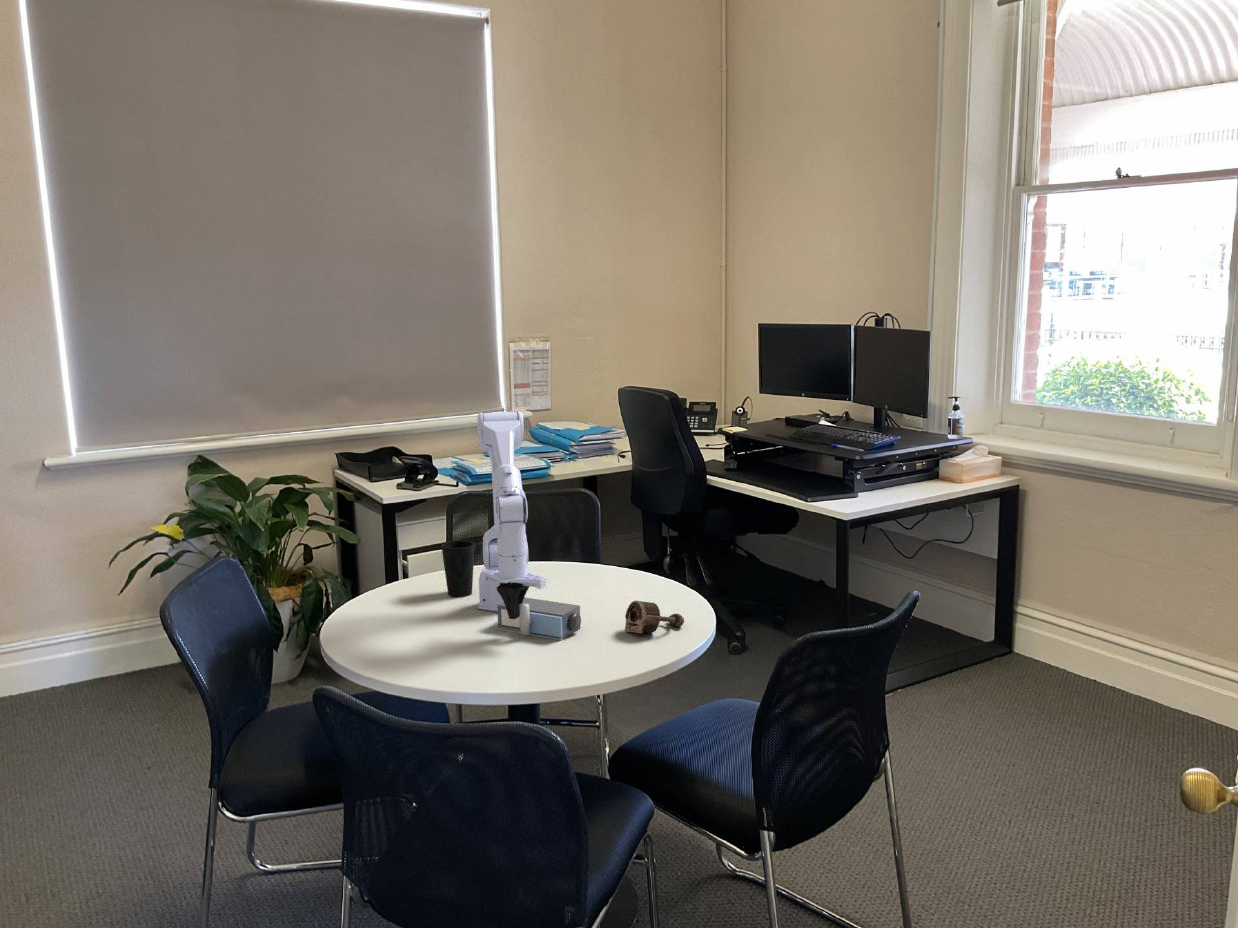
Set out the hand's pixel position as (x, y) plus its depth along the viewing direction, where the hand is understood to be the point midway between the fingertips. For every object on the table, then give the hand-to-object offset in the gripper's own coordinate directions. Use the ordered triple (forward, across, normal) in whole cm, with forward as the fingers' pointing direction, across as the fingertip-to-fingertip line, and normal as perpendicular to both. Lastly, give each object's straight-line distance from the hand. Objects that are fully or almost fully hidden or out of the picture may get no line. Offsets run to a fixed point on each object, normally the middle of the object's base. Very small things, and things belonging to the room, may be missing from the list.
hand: (514, 617), depth 203 cm
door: (+3, +6, +1) cm, 7 cm away
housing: (+4, +2, +6) cm, 8 cm away
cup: (+4, -28, +19) cm, 34 cm away
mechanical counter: (+4, +25, +15) cm, 29 cm away
